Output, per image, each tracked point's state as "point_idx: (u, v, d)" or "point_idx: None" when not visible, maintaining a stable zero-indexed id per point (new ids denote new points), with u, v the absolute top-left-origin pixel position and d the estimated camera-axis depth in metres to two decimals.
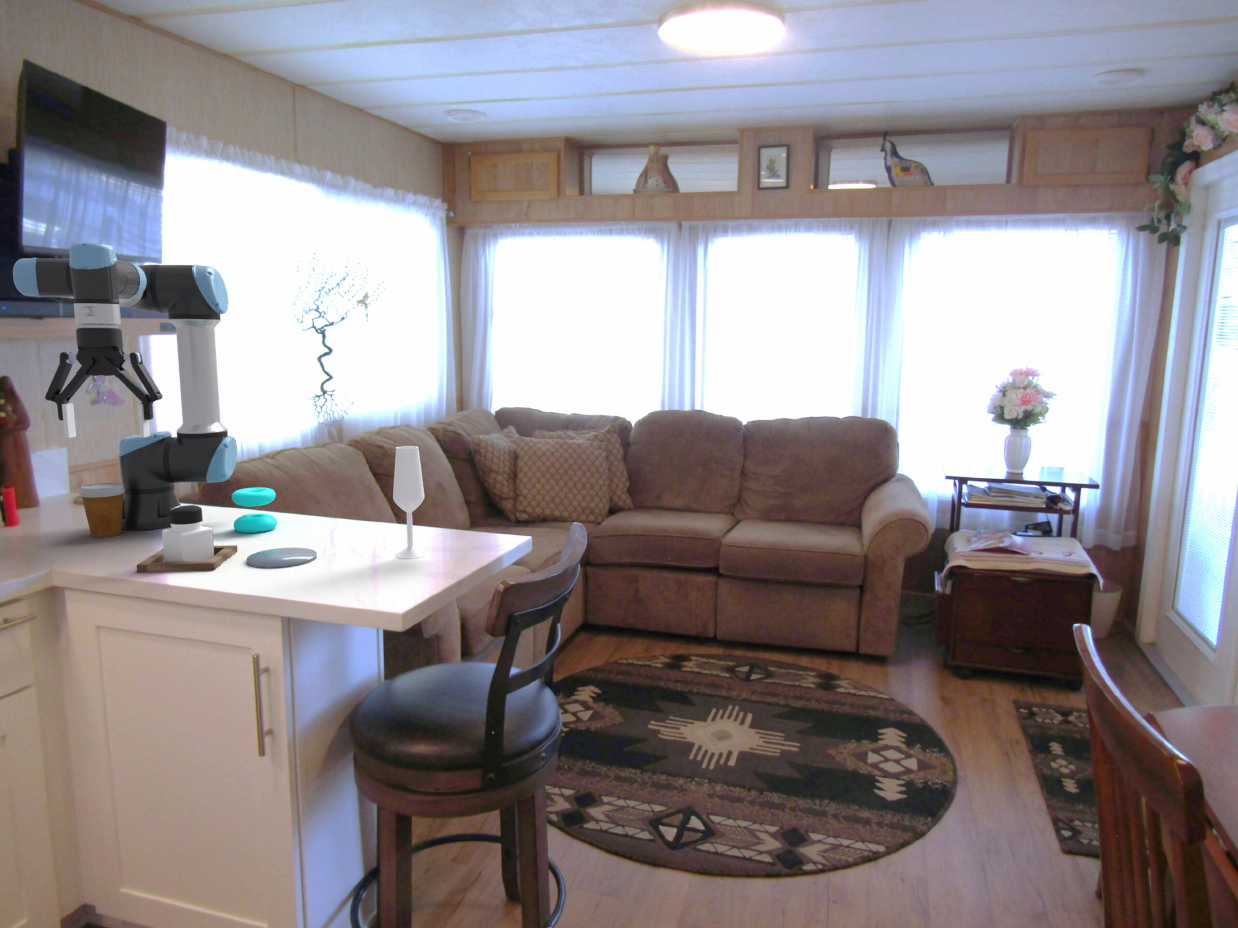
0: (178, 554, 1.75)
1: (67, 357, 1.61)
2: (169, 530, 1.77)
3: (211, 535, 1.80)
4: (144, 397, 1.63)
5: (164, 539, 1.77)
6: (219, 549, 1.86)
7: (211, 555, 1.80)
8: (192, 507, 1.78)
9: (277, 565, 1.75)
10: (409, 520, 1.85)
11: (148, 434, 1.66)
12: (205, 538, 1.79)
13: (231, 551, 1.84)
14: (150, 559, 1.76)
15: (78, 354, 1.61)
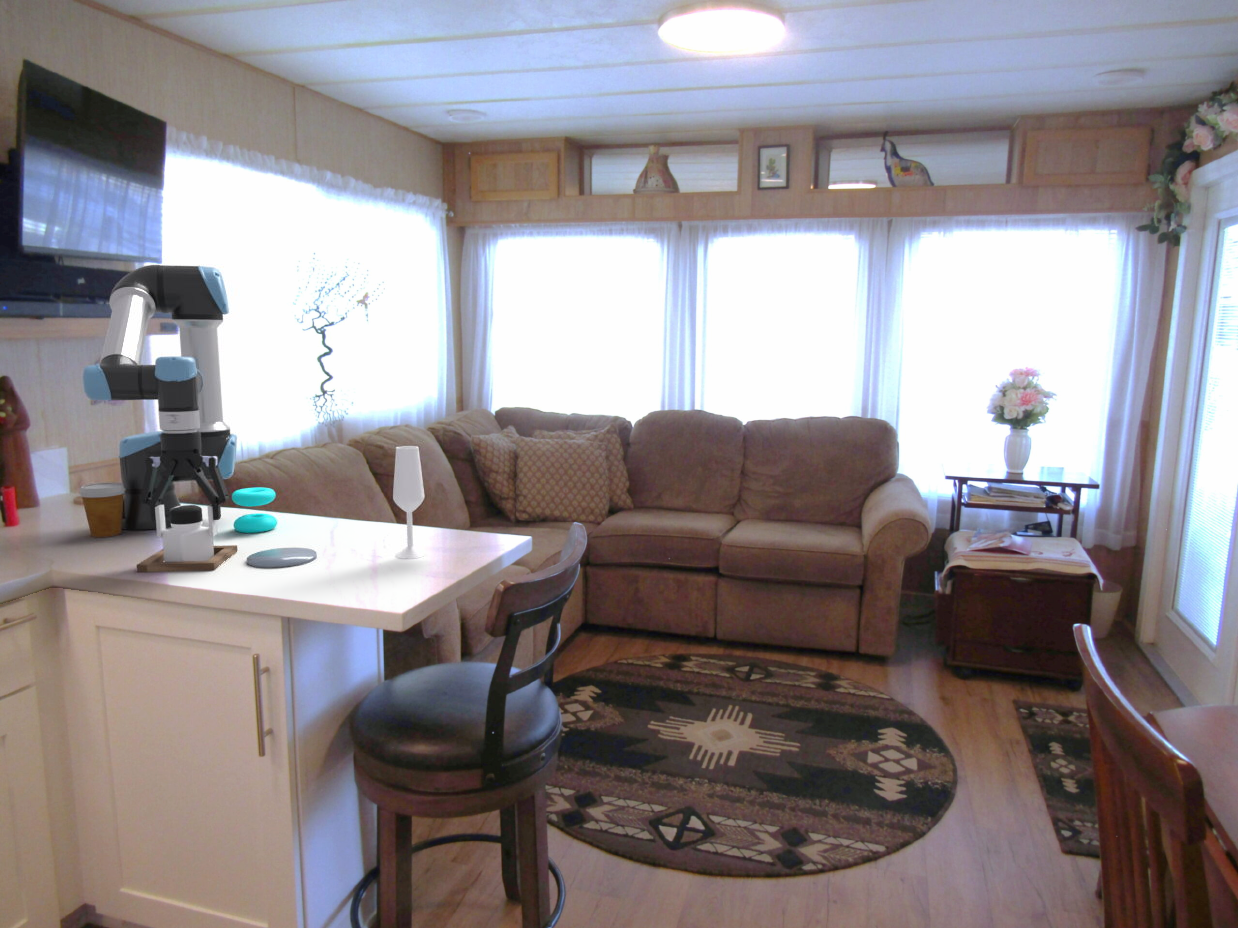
0: (178, 554, 1.75)
1: (152, 461, 1.75)
2: (169, 530, 1.77)
3: None
4: (214, 500, 1.77)
5: (164, 539, 1.77)
6: (219, 549, 1.86)
7: (211, 555, 1.80)
8: (192, 507, 1.78)
9: (277, 565, 1.75)
10: (409, 520, 1.85)
11: (216, 532, 1.80)
12: (205, 538, 1.79)
13: (231, 551, 1.84)
14: (150, 559, 1.76)
15: (161, 457, 1.75)
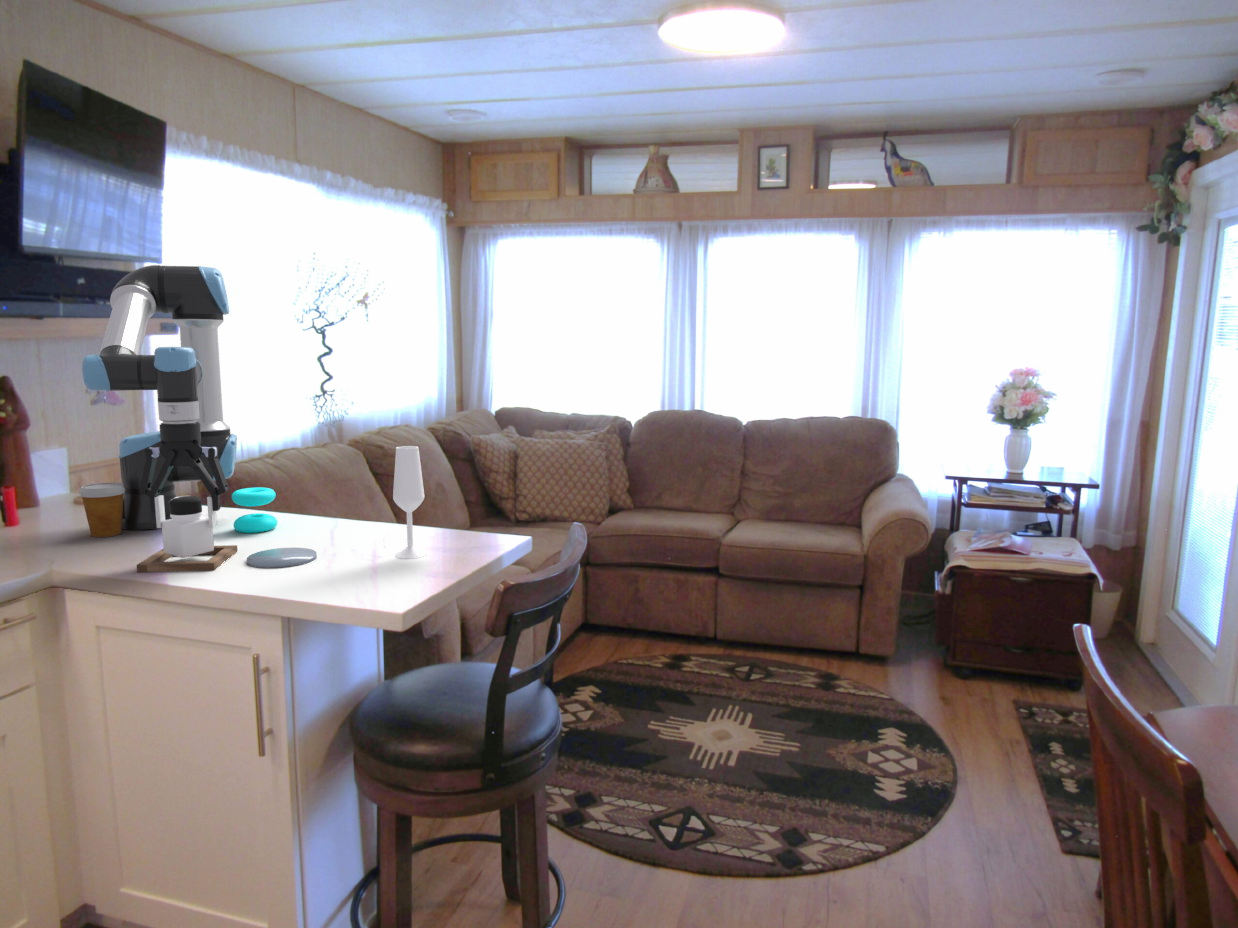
0: (177, 545, 1.75)
1: (151, 452, 1.75)
2: (168, 521, 1.77)
3: None
4: (213, 490, 1.77)
5: (164, 530, 1.77)
6: (219, 549, 1.86)
7: (211, 546, 1.80)
8: (191, 498, 1.77)
9: (277, 565, 1.75)
10: (409, 520, 1.85)
11: (216, 523, 1.80)
12: (204, 528, 1.79)
13: (231, 551, 1.84)
14: (150, 559, 1.76)
15: (160, 447, 1.75)
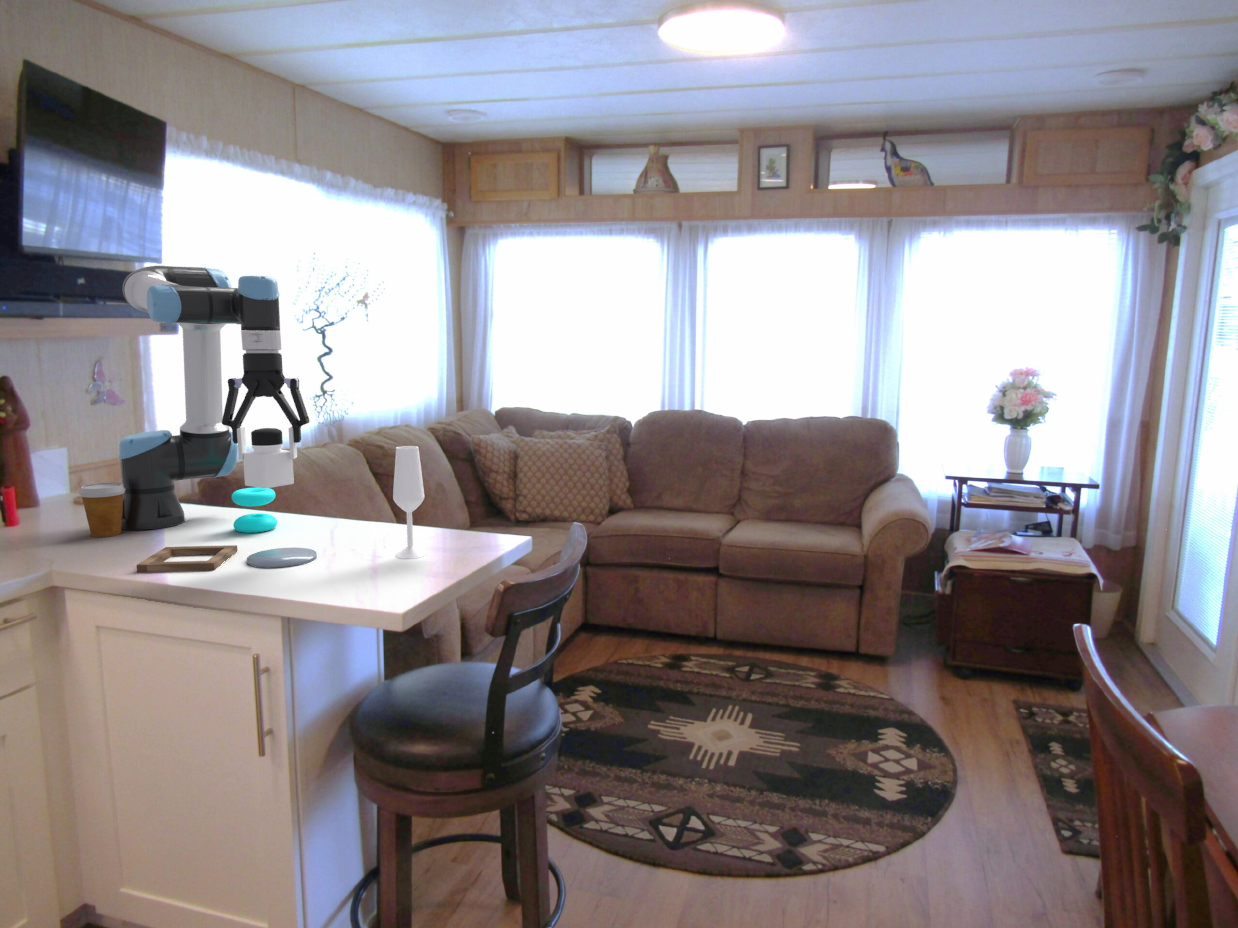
0: (259, 475, 1.75)
1: (234, 382, 1.75)
2: (250, 452, 1.76)
3: None
4: (295, 422, 1.77)
5: (245, 461, 1.77)
6: (219, 549, 1.86)
7: (291, 478, 1.79)
8: (273, 429, 1.77)
9: (277, 565, 1.75)
10: (409, 520, 1.85)
11: (296, 455, 1.80)
12: (285, 460, 1.78)
13: (231, 551, 1.84)
14: (150, 559, 1.76)
15: (243, 378, 1.75)
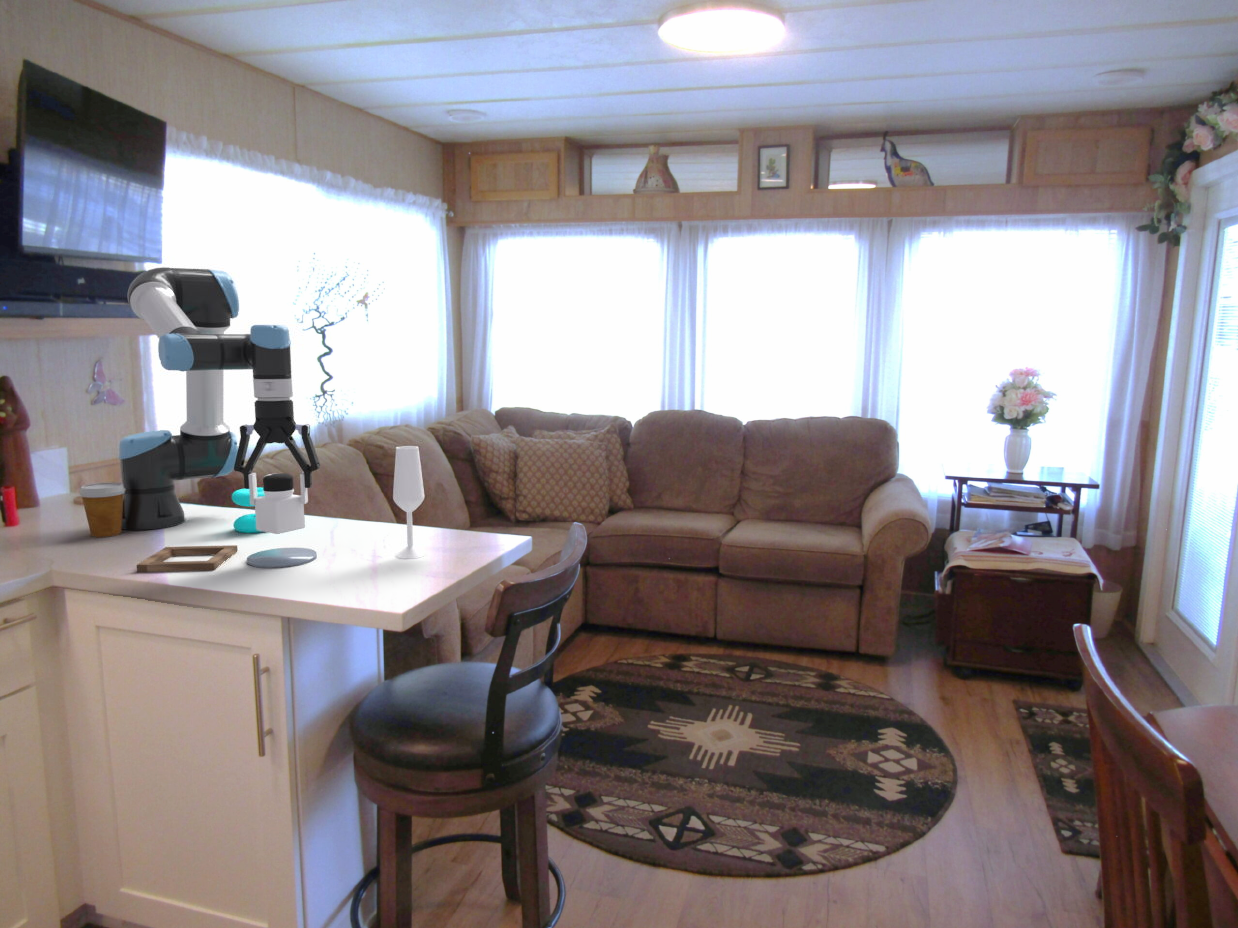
0: (271, 521, 1.77)
1: (246, 429, 1.76)
2: (261, 497, 1.78)
3: None
4: (306, 467, 1.79)
5: (257, 506, 1.79)
6: (219, 549, 1.86)
7: (302, 523, 1.81)
8: (284, 475, 1.79)
9: (277, 565, 1.75)
10: (409, 520, 1.85)
11: (307, 500, 1.82)
12: (296, 505, 1.80)
13: (231, 551, 1.84)
14: (150, 559, 1.76)
15: (255, 424, 1.76)
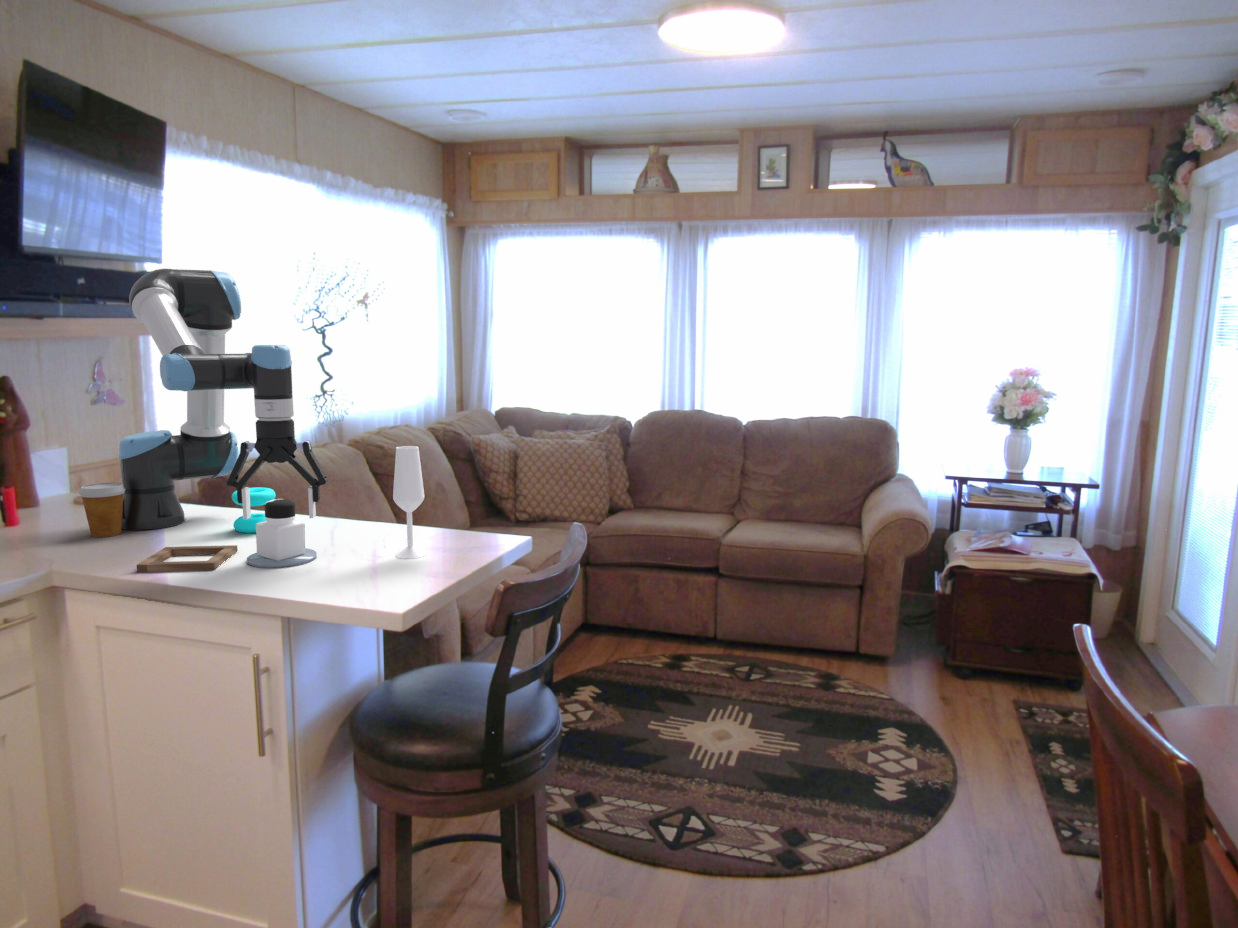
0: (272, 548, 1.78)
1: (247, 446, 1.77)
2: (263, 523, 1.79)
3: (303, 529, 1.82)
4: (314, 482, 1.80)
5: (258, 532, 1.79)
6: (219, 549, 1.86)
7: (302, 549, 1.82)
8: (286, 501, 1.79)
9: (277, 565, 1.75)
10: (409, 520, 1.85)
11: (315, 514, 1.82)
12: (297, 532, 1.81)
13: (231, 551, 1.84)
14: (150, 559, 1.76)
15: (257, 444, 1.77)
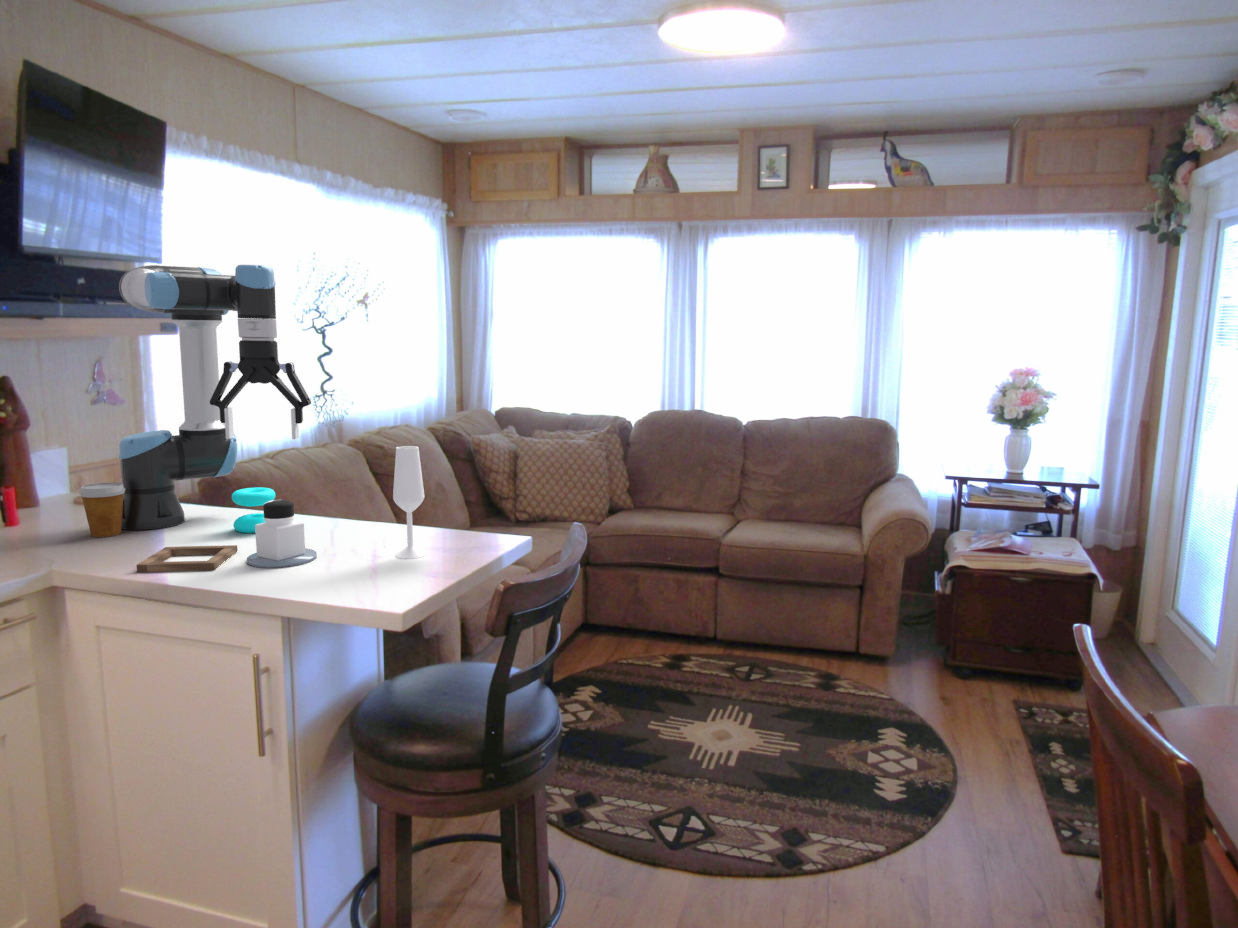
0: (272, 548, 1.78)
1: (230, 366, 1.79)
2: (262, 524, 1.79)
3: (302, 529, 1.82)
4: (297, 403, 1.81)
5: (257, 533, 1.80)
6: (219, 549, 1.86)
7: (302, 549, 1.82)
8: (285, 502, 1.80)
9: (277, 565, 1.75)
10: (409, 520, 1.85)
11: (297, 436, 1.84)
12: (297, 532, 1.81)
13: (231, 551, 1.84)
14: (150, 559, 1.76)
15: (240, 364, 1.79)
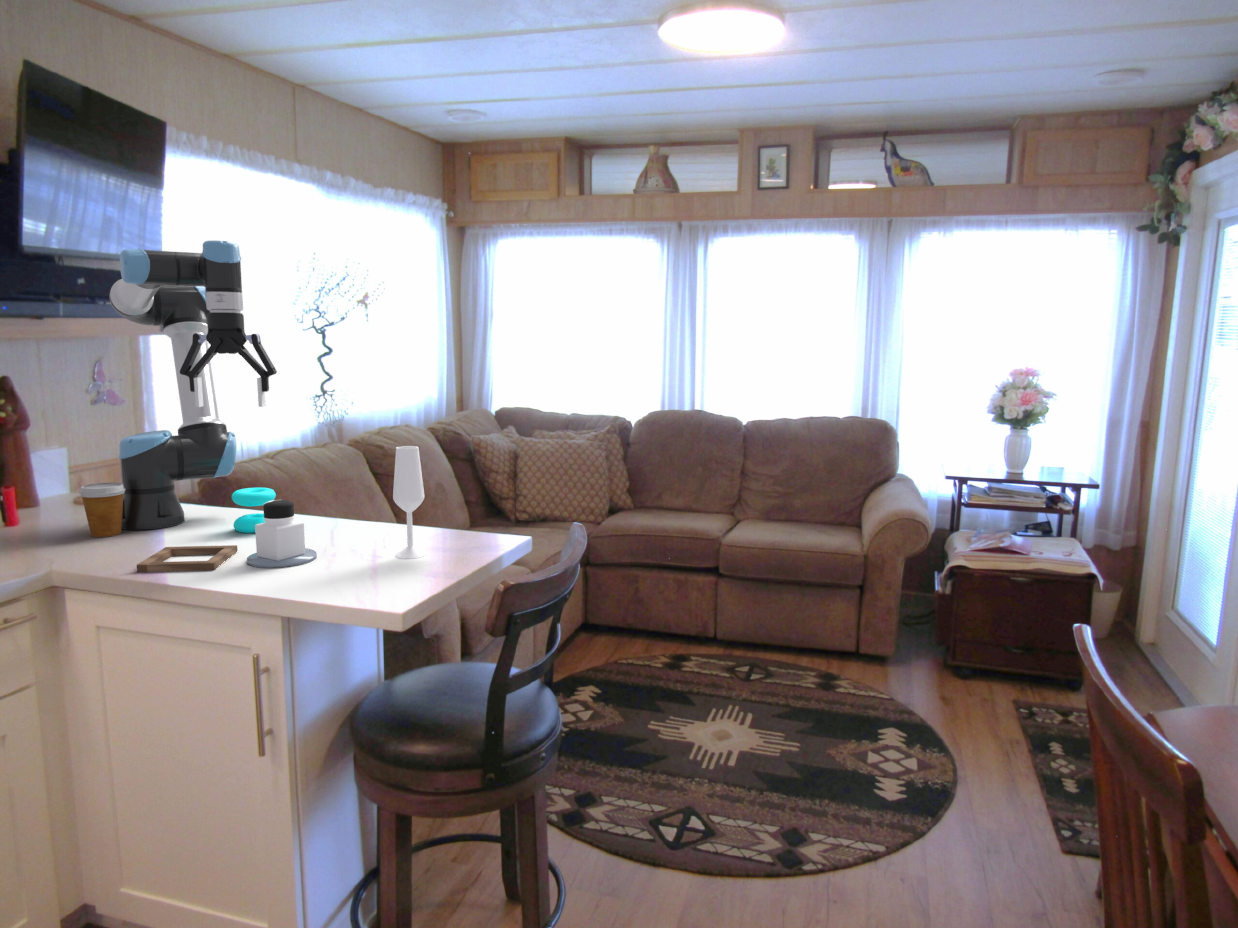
0: (272, 548, 1.78)
1: (198, 337, 1.89)
2: (262, 524, 1.79)
3: (302, 529, 1.82)
4: (262, 372, 1.91)
5: (257, 533, 1.80)
6: (219, 549, 1.86)
7: (302, 549, 1.82)
8: (285, 502, 1.80)
9: (277, 565, 1.75)
10: (409, 520, 1.85)
11: (264, 404, 1.94)
12: (297, 532, 1.81)
13: (231, 551, 1.84)
14: (150, 559, 1.76)
15: (208, 335, 1.89)
